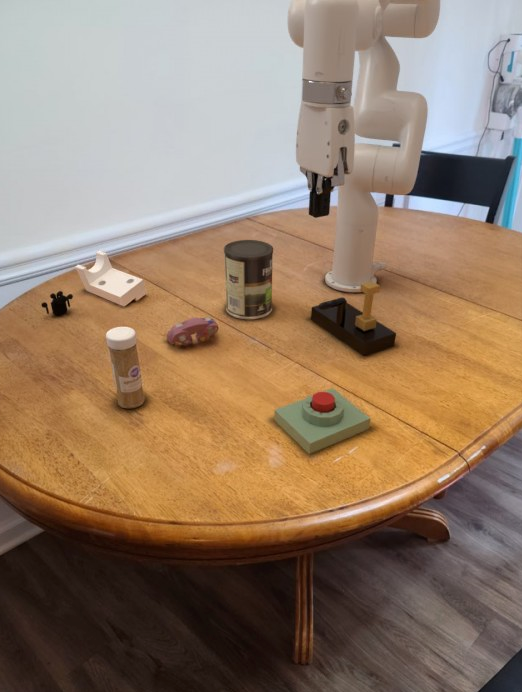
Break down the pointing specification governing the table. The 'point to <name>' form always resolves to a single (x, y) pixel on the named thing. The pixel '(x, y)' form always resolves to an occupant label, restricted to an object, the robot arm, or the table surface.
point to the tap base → (351, 327)
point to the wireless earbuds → (58, 303)
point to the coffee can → (248, 279)
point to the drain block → (321, 422)
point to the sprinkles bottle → (125, 366)
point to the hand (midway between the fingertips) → (318, 215)
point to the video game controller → (192, 330)
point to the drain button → (323, 402)
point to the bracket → (111, 281)
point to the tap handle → (367, 307)
